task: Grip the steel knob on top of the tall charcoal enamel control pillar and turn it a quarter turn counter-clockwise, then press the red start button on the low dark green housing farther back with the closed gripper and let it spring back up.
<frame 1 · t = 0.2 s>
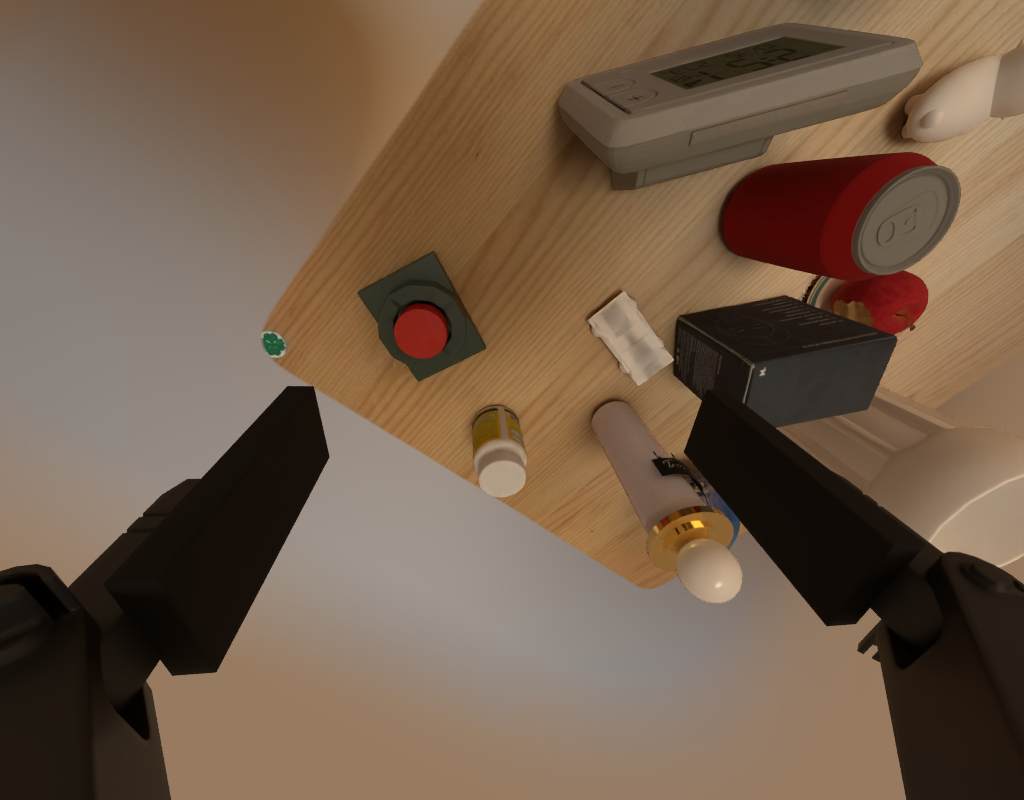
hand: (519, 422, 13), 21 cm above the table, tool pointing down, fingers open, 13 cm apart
beverage can: (755, 213, 30), on the table
blue plum: (673, 482, 45), on the table
toy car: (624, 334, 35), on the table
cup: (804, 401, 41), on the table
button box: (425, 319, 32), on the table
supplement bottle: (495, 423, 38), on the table
perfume bottle: (610, 415, 39), on the table
toy creature: (932, 105, 28), on the table
apple: (841, 295, 35), on the table
digital clock: (666, 109, 26), on the table
start button: (422, 331, 29), point 3 cm above the table, slide at 0.1 cm
box: (726, 337, 36), on the table
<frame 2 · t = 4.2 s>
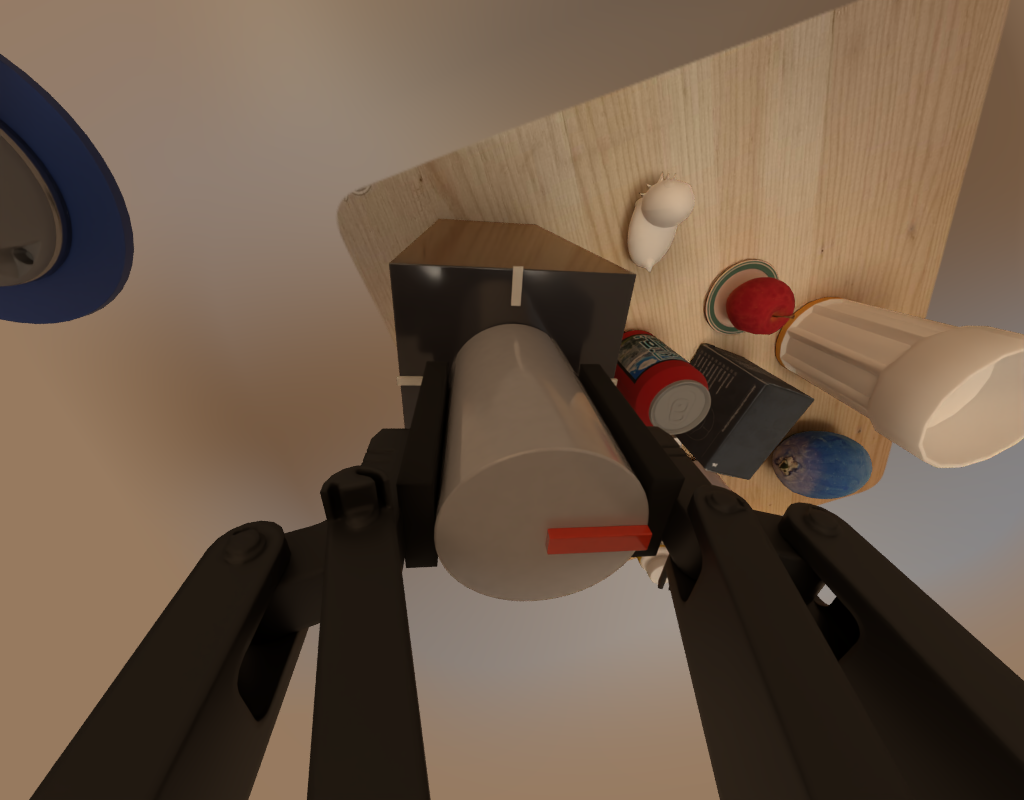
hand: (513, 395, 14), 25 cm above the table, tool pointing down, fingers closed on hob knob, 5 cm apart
beverage can: (628, 355, 43), on the table
control pillar: (486, 272, 36), on the table
blue plum: (785, 444, 52), on the table
cup: (811, 334, 44), on the table
supplement bottle: (638, 524, 57), on the table
hob knob: (522, 439, 12), point 28 cm above the table, hinge at 0.0°, touching gripper
toy creature: (643, 221, 36), on the table
apple: (738, 297, 40), on the table
box: (698, 386, 46), on the table
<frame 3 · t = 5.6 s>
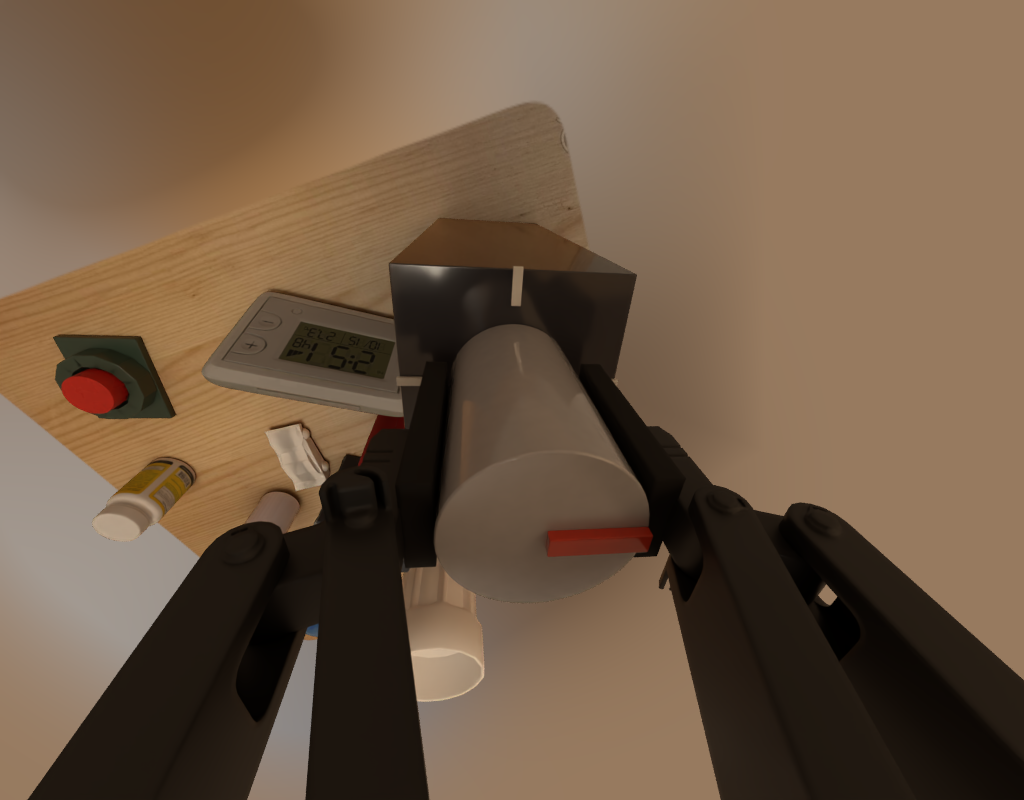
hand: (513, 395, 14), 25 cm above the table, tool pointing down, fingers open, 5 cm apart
beverage can: (410, 414, 43), on the table
control pillar: (487, 271, 36), on the table
toy car: (302, 449, 44), on the table
cup: (442, 541, 55), on the table
button box: (121, 377, 38), on the table
supplement bottle: (175, 471, 44), on the table
hob knob: (523, 440, 12), point 28 cm above the table, hinge at 90.5°
perfume bottle: (283, 499, 48), on the table
digital clock: (349, 332, 38), on the table
start button: (96, 391, 35), point 3 cm above the table, slide at 0.1 cm
box: (384, 479, 48), on the table
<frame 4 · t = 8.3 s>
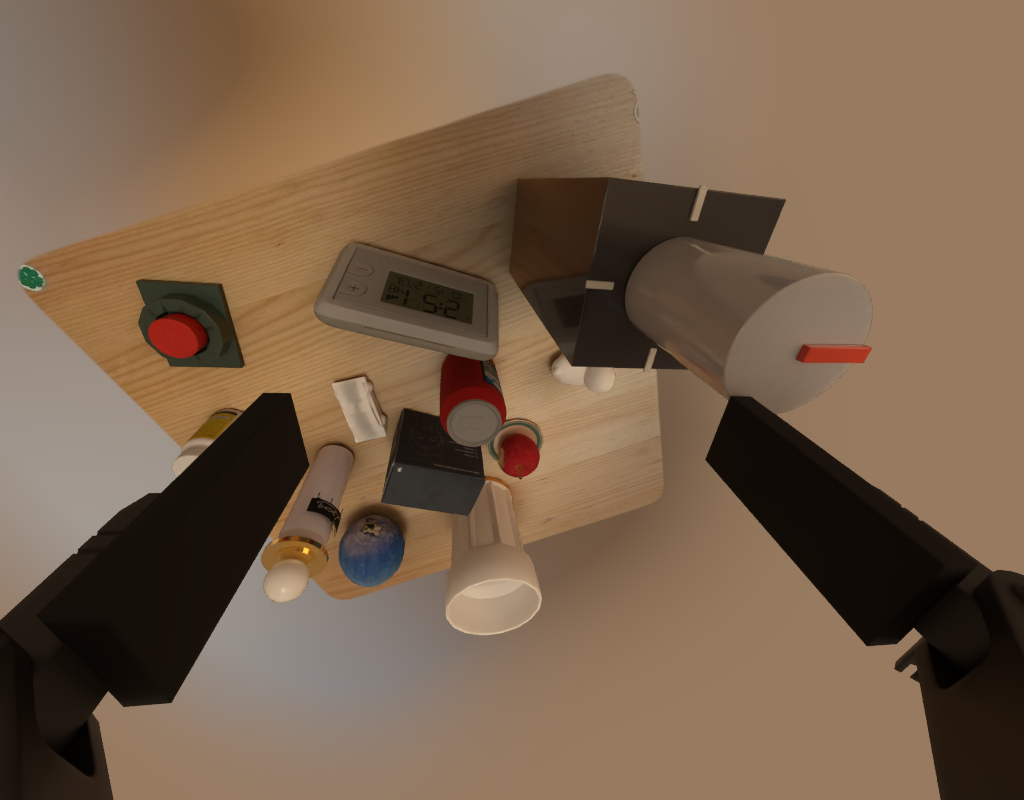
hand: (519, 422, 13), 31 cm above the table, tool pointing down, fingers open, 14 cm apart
beverage can: (468, 369, 46), on the table
control pillar: (554, 232, 39), on the table
blue plum: (376, 520, 57), on the table
toy car: (362, 403, 46), on the table
cup: (482, 497, 58), on the table
button box: (196, 325, 39), on the table
supplement bottle: (235, 423, 45), on the table
hob knob: (722, 315, 15), point 28 cm above the table, hinge at 91.6°, touching gripper
perfume bottle: (337, 454, 50), on the table
toy creature: (575, 361, 48), on the table
apple: (514, 440, 53), on the table
digital clock: (422, 286, 40), on the table
start button: (179, 335, 36), point 3 cm above the table, slide at 0.1 cm
box: (436, 435, 50), on the table
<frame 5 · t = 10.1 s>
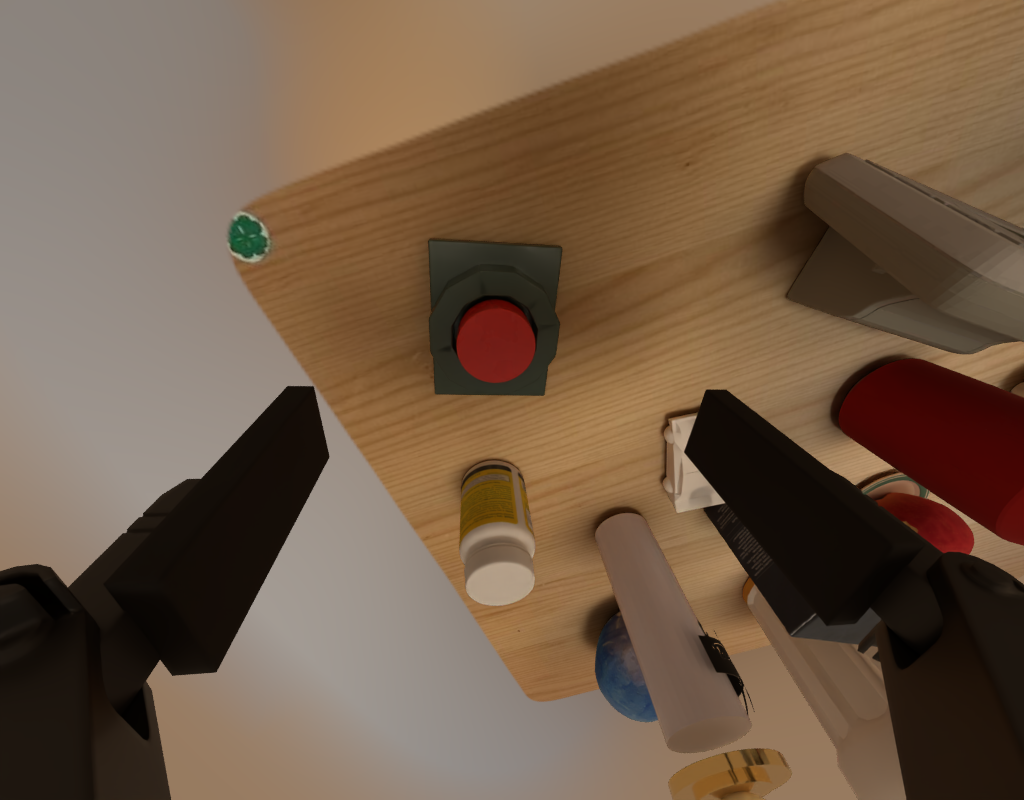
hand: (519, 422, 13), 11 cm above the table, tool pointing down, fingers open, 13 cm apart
beverage can: (873, 394, 27), on the table
blue plum: (628, 609, 39), on the table
toy car: (688, 449, 28), on the table
cup: (783, 578, 39), on the table
button box: (492, 323, 22), on the table
supplement bottle: (492, 481, 28), on the table
perfume bottle: (617, 523, 32), on the table
apple: (875, 500, 34), on the table
digital clock: (883, 248, 22), on the table
start button: (495, 341, 19), point 3 cm above the table, slide at 0.1 cm
box: (769, 494, 32), on the table
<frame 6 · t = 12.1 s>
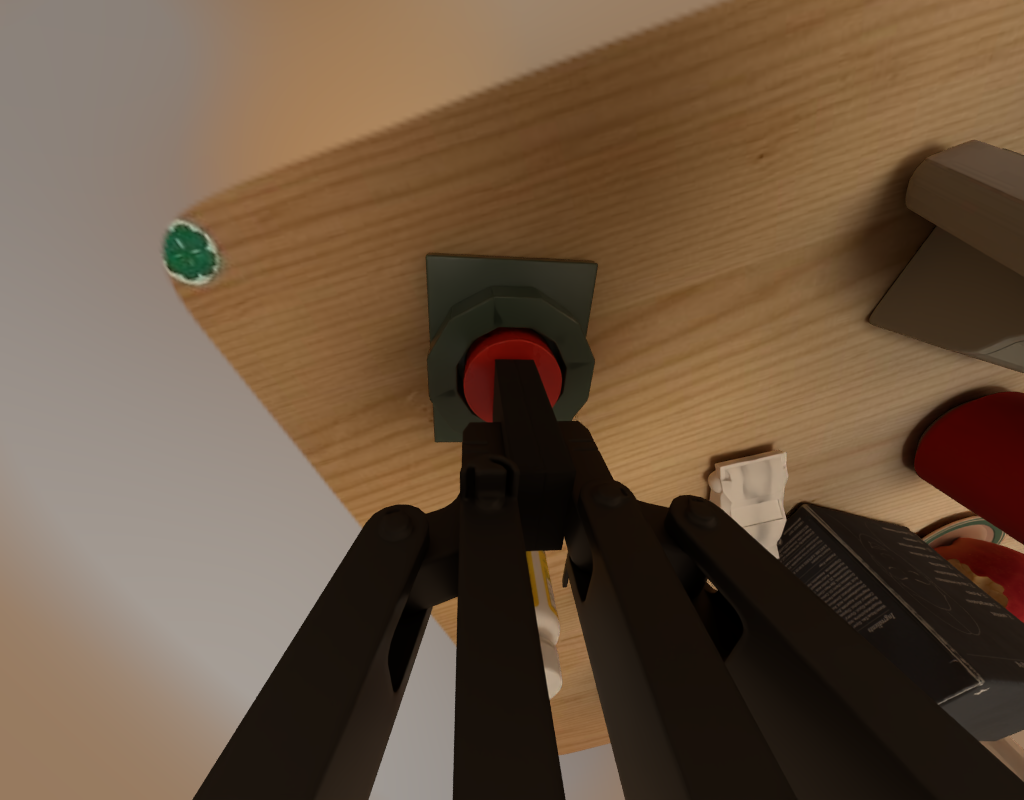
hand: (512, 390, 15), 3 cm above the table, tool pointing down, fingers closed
beverage can: (953, 430, 23), on the table
toy car: (734, 494, 24), on the table
cup: (828, 627, 34), on the table
button box: (506, 356, 18), on the table
supplement bottle: (503, 534, 24), on the table
apple: (939, 545, 29), on the table
digital clock: (989, 260, 18), on the table
start button: (511, 377, 16), point 2 cm above the table, slide at -0.7 cm, touching gripper
box: (821, 541, 28), on the table
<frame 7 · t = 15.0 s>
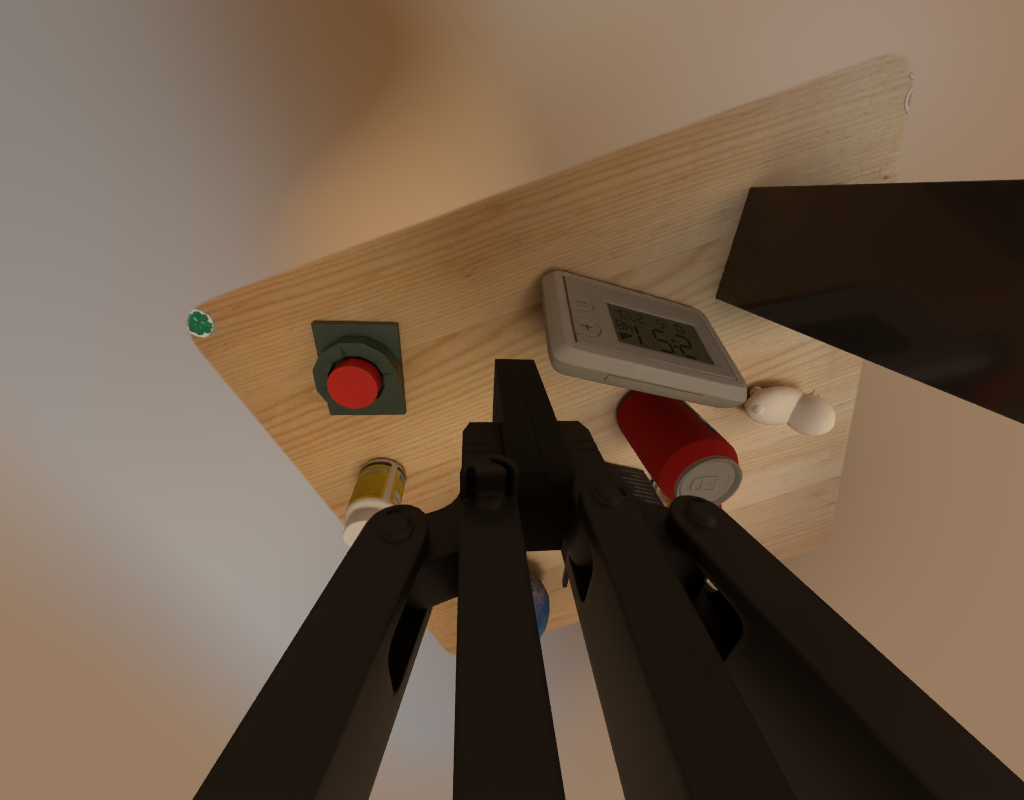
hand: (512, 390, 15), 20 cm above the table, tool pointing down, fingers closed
beverage can: (644, 408, 40), on the table
control pillar: (778, 248, 33), on the table
blue plum: (511, 573, 51), on the table
button box: (363, 369, 34), on the table
supplement bottle: (384, 473, 40), on the table
toy creature: (765, 396, 41), on the table
digital clock: (613, 317, 35), on the table
start button: (355, 383, 31), point 3 cm above the table, slide at 0.1 cm
box: (593, 481, 44), on the table
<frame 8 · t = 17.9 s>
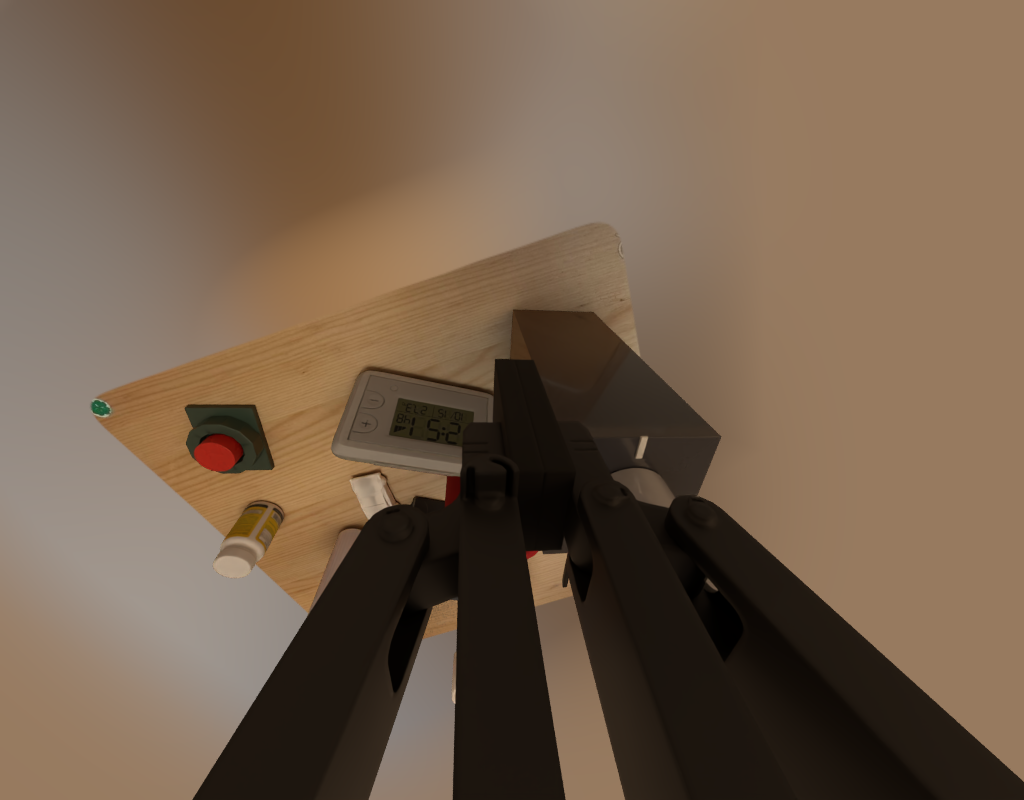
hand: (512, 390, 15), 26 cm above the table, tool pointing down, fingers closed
beverage can: (473, 462, 50), on the table
control pillar: (549, 349, 43), on the table
toy car: (377, 492, 51), on the table
button box: (233, 437, 44), on the table
supplement bottle: (266, 511, 50), on the table
hob knob: (656, 561, 18), point 28 cm above the table, hinge at 101.0°
perfume bottle: (355, 534, 54), on the table
digital clock: (429, 398, 44), on the table
start button: (219, 452, 41), point 3 cm above the table, slide at 0.1 cm
box: (445, 516, 54), on the table
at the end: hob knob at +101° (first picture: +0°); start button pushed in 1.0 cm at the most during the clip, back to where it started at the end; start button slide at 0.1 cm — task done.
